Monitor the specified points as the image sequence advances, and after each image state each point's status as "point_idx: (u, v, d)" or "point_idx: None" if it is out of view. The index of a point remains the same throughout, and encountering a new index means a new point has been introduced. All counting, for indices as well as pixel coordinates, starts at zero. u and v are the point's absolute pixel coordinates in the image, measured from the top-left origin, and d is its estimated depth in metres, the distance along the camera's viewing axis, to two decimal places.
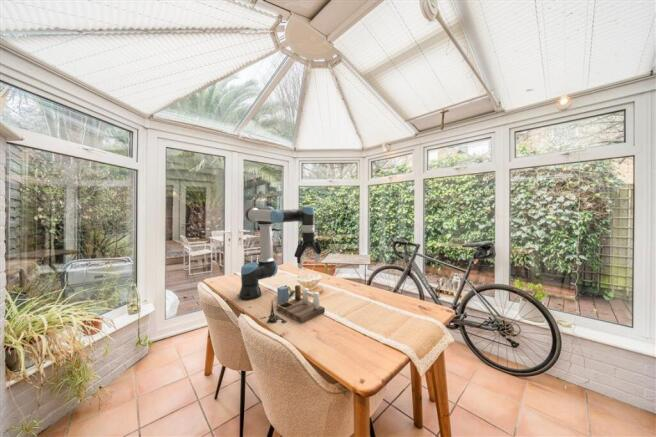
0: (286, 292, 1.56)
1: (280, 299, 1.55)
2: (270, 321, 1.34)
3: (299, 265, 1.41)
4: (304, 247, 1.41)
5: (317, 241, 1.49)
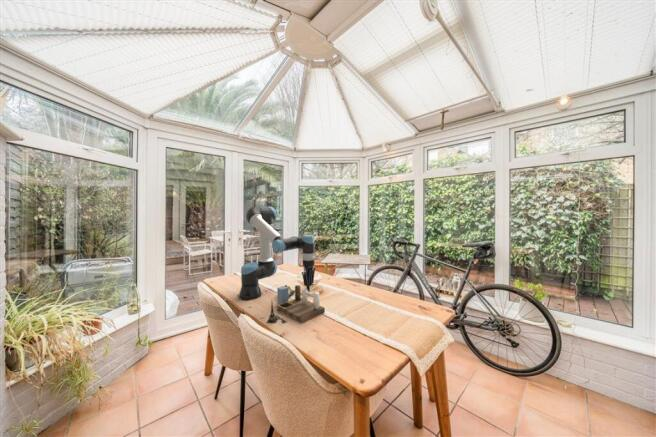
0: (286, 292, 1.56)
1: (280, 299, 1.55)
2: (270, 321, 1.34)
3: None
4: (308, 276, 1.50)
5: (314, 270, 1.56)
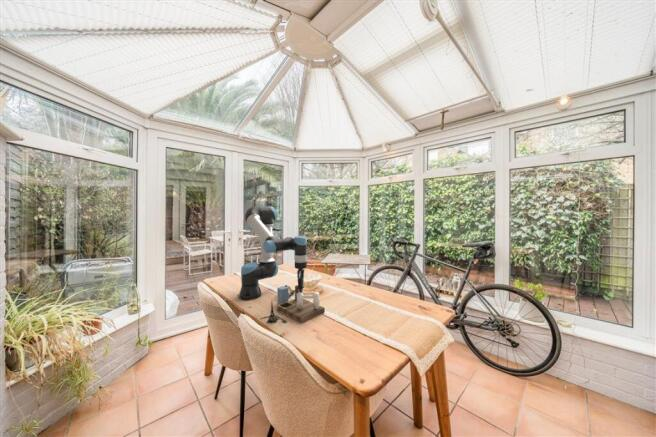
0: (286, 292, 1.56)
1: (280, 299, 1.55)
2: (270, 321, 1.34)
3: None
4: (302, 278, 1.45)
5: None
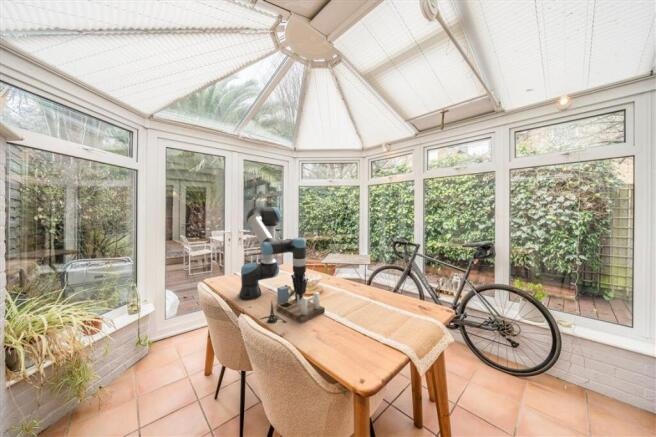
0: (286, 292, 1.56)
1: (280, 299, 1.55)
2: (270, 321, 1.34)
3: (300, 302, 1.39)
4: (303, 282, 1.38)
5: None
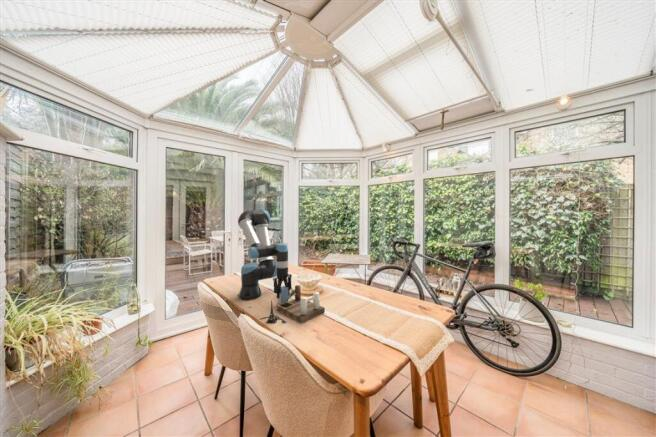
0: (286, 292, 1.56)
1: None
2: (269, 321, 1.34)
3: None
4: None
5: (274, 280, 1.53)
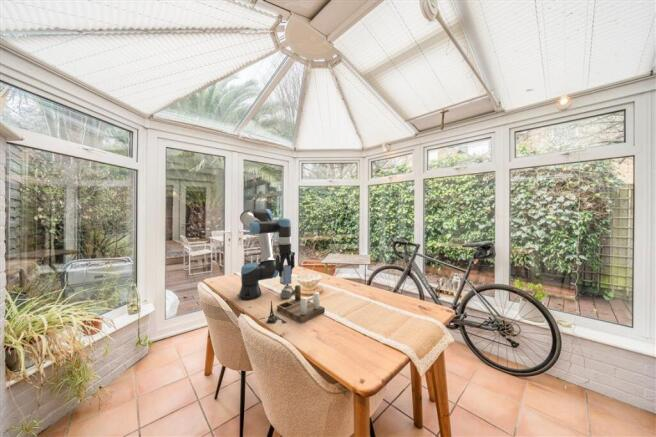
0: (289, 270, 1.46)
1: None
2: (269, 322, 1.34)
3: None
4: None
5: (276, 257, 1.43)
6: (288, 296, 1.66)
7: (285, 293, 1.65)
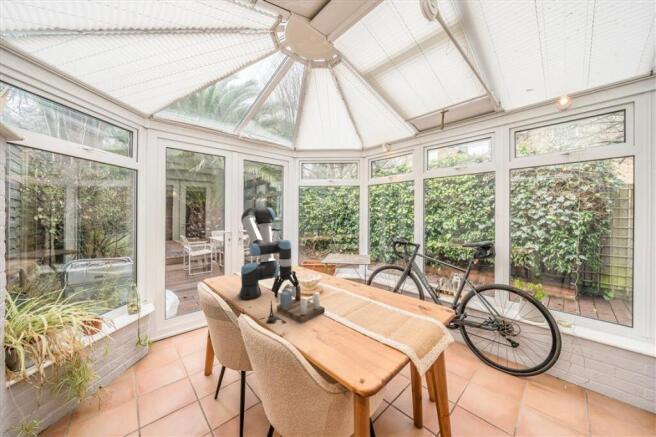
0: (289, 297, 1.47)
1: (284, 305, 1.46)
2: (269, 322, 1.33)
3: None
4: None
5: None
6: None
7: None
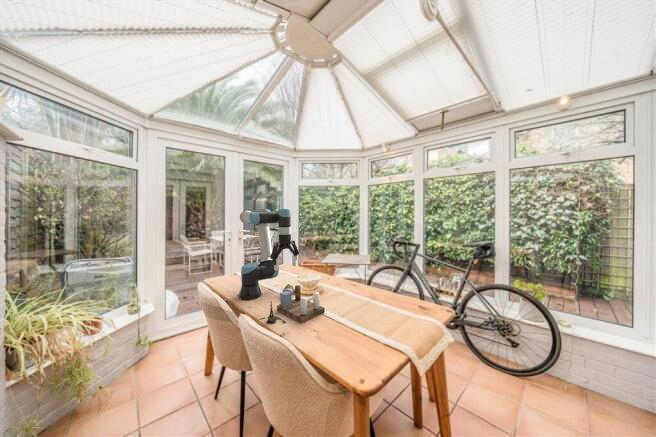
0: (289, 297, 1.47)
1: (284, 305, 1.46)
2: (269, 322, 1.33)
3: None
4: None
5: None
6: None
7: None
